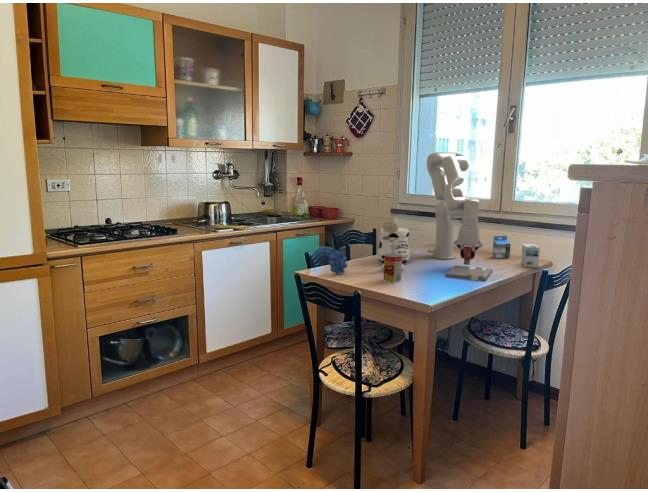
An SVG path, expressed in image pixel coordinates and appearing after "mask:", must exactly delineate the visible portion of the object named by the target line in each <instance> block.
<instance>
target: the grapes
mask: <svg viewBox="0 0 648 492" xmlns="http://www.w3.org/2000/svg"><path fill="white" fill-rule="evenodd" d="M328 265H329V266H330V269H329V270H330V271H331V272H332V273H334V274H335V273H336V274H335V275H337V274H339V275H340V274H344V273H345V269H346V268H348V264H347V257H346V256H345V255H344V252H343V251H338V250H334V252H333V253H331V254H330V255H329V260H328Z"/></svg>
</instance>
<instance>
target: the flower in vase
mask: <svg viewBox="0 0 648 492" xmlns="http://www.w3.org/2000/svg"><path fill="white" fill-rule="evenodd" d="M398 227H399V226H398V224H397V223H396V222H394V221H393V220H392V221H391V220H386V221H384V222H383V223H382V225H381V228H383V229H384V231H385V232H388V233H389V234H390V233H391V234H392V233H395V232H397V231H398V230H397V229H398ZM389 238H390V236H389V237H387V236H384V237H383V238H382V239H384V240H389ZM398 238H399V237H398ZM398 238H395V239H393V240H391V239H390V240H391V242H392V241H394V240H397V239H398ZM389 245H390V247H391V253H396V249H397V246H398V245H399V243H393V242H392V243H389ZM381 268H382V270H384V263H383V264H382V265H381ZM404 270H405V265H404V264H403V263H402V266H401V272H402V271H404Z"/></svg>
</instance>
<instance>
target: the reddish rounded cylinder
mask: <svg viewBox="0 0 648 492" xmlns="http://www.w3.org/2000/svg"><path fill="white" fill-rule="evenodd" d="M471 252H472V246H467V245H464V248H463V258H462V259H463V265H464V266H465V265H466V266H468V265H470V264H471V260H472V259H471Z"/></svg>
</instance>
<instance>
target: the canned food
mask: <svg viewBox="0 0 648 492" xmlns="http://www.w3.org/2000/svg"><path fill="white" fill-rule="evenodd" d="M383 264H384V269H383V281H384V280H385V281H389V282H398V283H400V282H399V281H401V282H402V271H401V266H402V264H403V263H402V255H401V254H396V253H388V254H384V262H383ZM385 281H384V282H385ZM389 282H388V283H389Z"/></svg>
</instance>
